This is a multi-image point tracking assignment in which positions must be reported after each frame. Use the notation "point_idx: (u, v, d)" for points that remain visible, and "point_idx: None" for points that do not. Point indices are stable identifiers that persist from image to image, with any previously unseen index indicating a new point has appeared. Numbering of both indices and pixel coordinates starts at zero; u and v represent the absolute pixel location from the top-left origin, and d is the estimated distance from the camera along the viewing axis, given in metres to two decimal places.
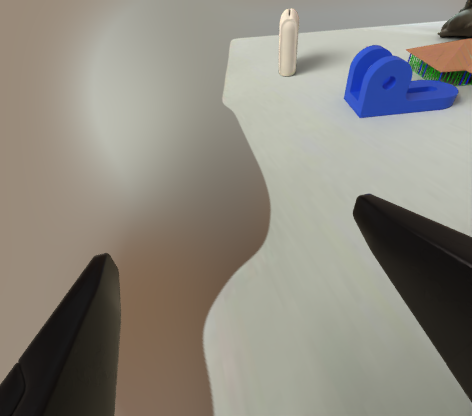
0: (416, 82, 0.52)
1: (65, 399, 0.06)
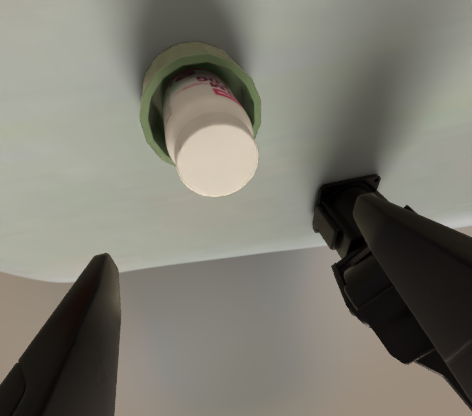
0: None
1: (65, 399, 0.06)
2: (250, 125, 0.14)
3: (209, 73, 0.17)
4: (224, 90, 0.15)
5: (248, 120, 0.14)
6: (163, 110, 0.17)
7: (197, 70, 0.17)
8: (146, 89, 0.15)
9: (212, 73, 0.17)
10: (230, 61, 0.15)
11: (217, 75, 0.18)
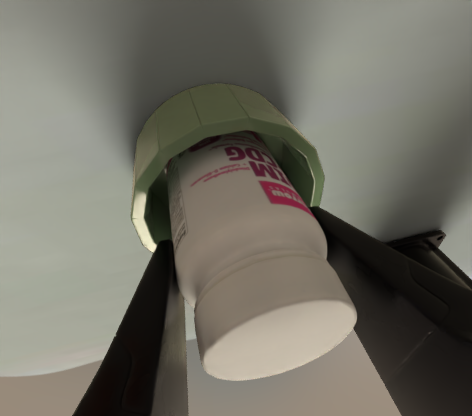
0: None
1: (165, 370, 0.06)
2: (326, 244, 0.08)
3: (242, 134, 0.10)
4: (276, 178, 0.09)
5: (324, 239, 0.08)
6: (169, 196, 0.10)
7: None
8: (141, 177, 0.09)
9: (245, 132, 0.11)
10: (285, 126, 0.09)
11: (252, 133, 0.11)
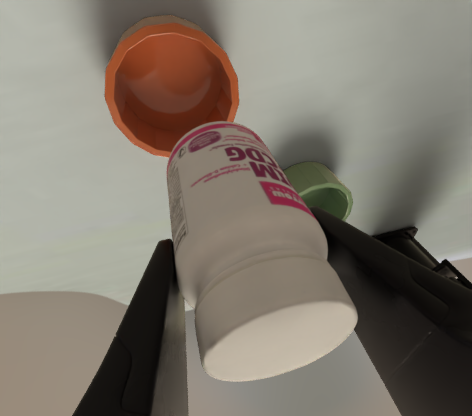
0: None
1: (164, 370, 0.06)
2: (326, 245, 0.08)
3: (242, 134, 0.10)
4: (277, 179, 0.08)
5: (324, 239, 0.08)
6: (169, 196, 0.10)
7: (223, 130, 0.11)
8: None
9: (246, 132, 0.11)
10: (340, 184, 0.23)
11: (252, 133, 0.11)
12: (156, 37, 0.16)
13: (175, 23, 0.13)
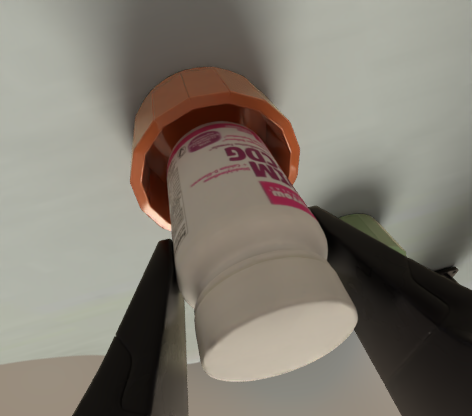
0: None
1: (165, 370, 0.06)
2: (326, 245, 0.08)
3: (242, 134, 0.10)
4: (277, 179, 0.08)
5: (324, 239, 0.08)
6: (169, 196, 0.10)
7: (223, 129, 0.10)
8: None
9: (245, 132, 0.11)
10: (396, 246, 0.20)
11: (252, 133, 0.11)
12: None
13: (230, 92, 0.10)
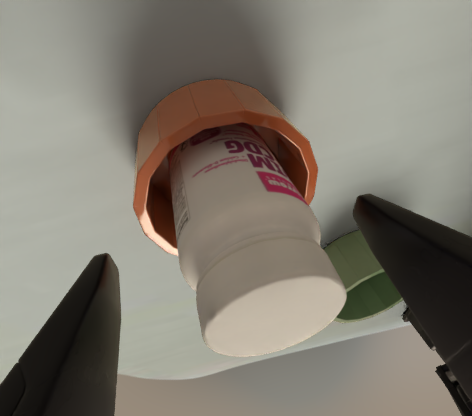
0: None
1: (65, 399, 0.06)
2: (319, 231, 0.09)
3: (241, 129, 0.11)
4: (273, 170, 0.09)
5: (317, 225, 0.08)
6: (171, 187, 0.11)
7: None
8: (346, 289, 0.18)
9: (244, 127, 0.11)
10: None
11: (250, 128, 0.12)
12: None
13: (245, 110, 0.09)
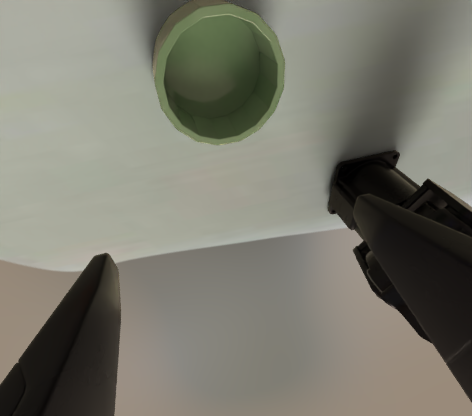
0: None
1: (65, 399, 0.06)
2: None
3: None
4: None
5: None
6: None
7: None
8: (162, 46, 0.13)
9: None
10: (254, 13, 0.14)
11: None
12: None
13: None
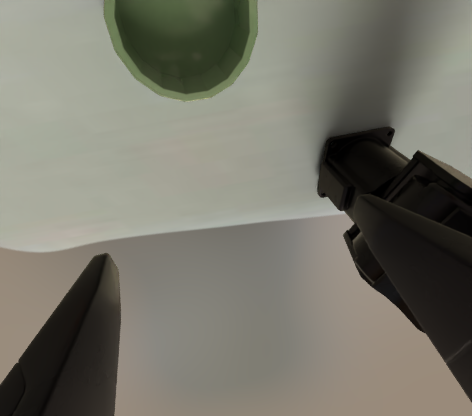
0: None
1: (65, 399, 0.06)
2: None
3: None
4: None
5: None
6: None
7: None
8: None
9: None
10: None
11: None
12: None
13: None
